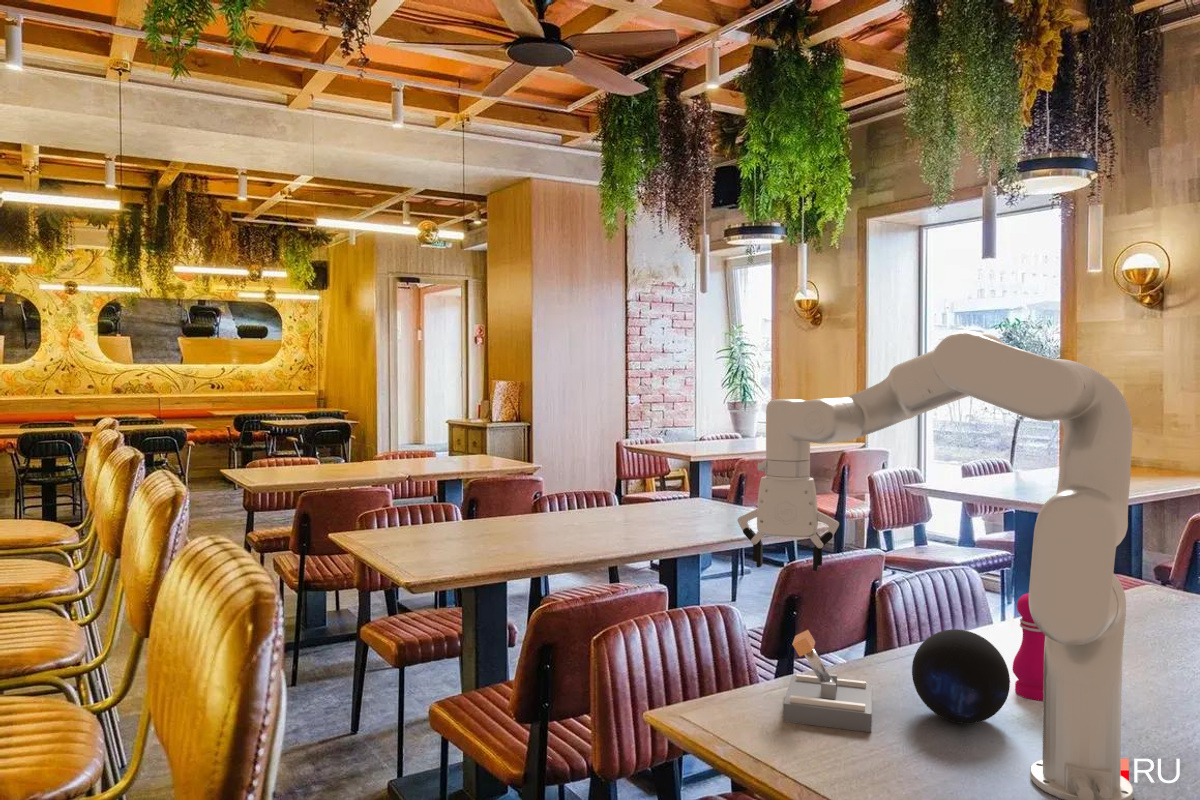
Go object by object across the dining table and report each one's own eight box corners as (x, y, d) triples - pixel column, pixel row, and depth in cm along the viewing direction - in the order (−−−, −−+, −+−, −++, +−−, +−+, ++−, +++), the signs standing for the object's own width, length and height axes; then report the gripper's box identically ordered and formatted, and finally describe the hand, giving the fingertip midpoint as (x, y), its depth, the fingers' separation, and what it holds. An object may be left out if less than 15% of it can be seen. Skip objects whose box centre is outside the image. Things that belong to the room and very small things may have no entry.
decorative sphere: (1015, 715, 144) (1016, 627, 144) (1002, 746, 131) (1003, 651, 131) (922, 697, 152) (923, 614, 152) (901, 725, 140) (902, 634, 139)
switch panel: (871, 732, 137) (871, 698, 137) (783, 721, 141) (783, 688, 141) (872, 701, 150) (872, 670, 150) (791, 692, 154) (791, 661, 154)
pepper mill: (1062, 703, 149) (1064, 590, 149) (1018, 700, 151) (1019, 588, 150) (1049, 688, 156) (1050, 581, 156) (1007, 685, 158) (1008, 579, 158)
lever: (838, 692, 143) (805, 637, 144) (824, 699, 143) (792, 644, 145) (839, 682, 147) (808, 629, 149) (826, 689, 148) (795, 636, 150)
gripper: (734, 470, 146) (734, 568, 147) (838, 473, 141) (837, 575, 141) (741, 466, 153) (740, 560, 154) (840, 469, 148) (839, 566, 148)
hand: (787, 567), depth 148 cm, fingers open, 9 cm apart
